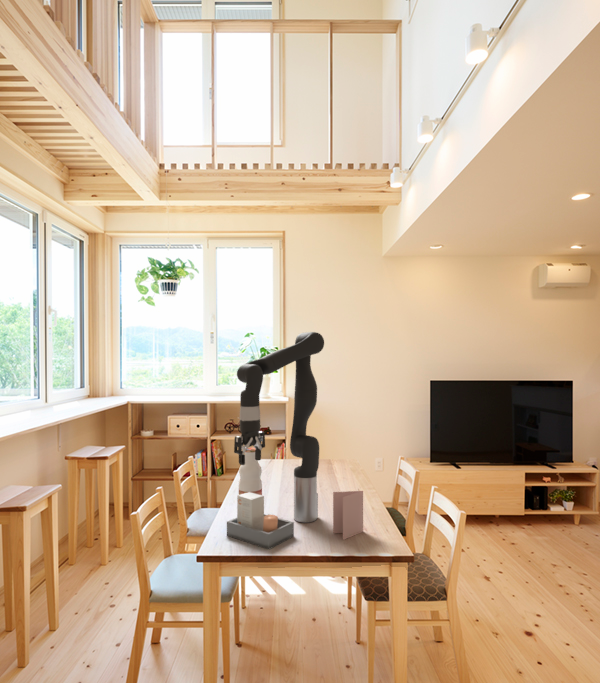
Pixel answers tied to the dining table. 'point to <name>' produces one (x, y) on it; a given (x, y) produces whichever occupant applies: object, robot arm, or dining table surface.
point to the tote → (261, 533)
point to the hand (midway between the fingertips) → (250, 462)
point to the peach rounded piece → (270, 523)
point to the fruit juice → (250, 474)
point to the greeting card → (348, 513)
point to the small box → (250, 510)
